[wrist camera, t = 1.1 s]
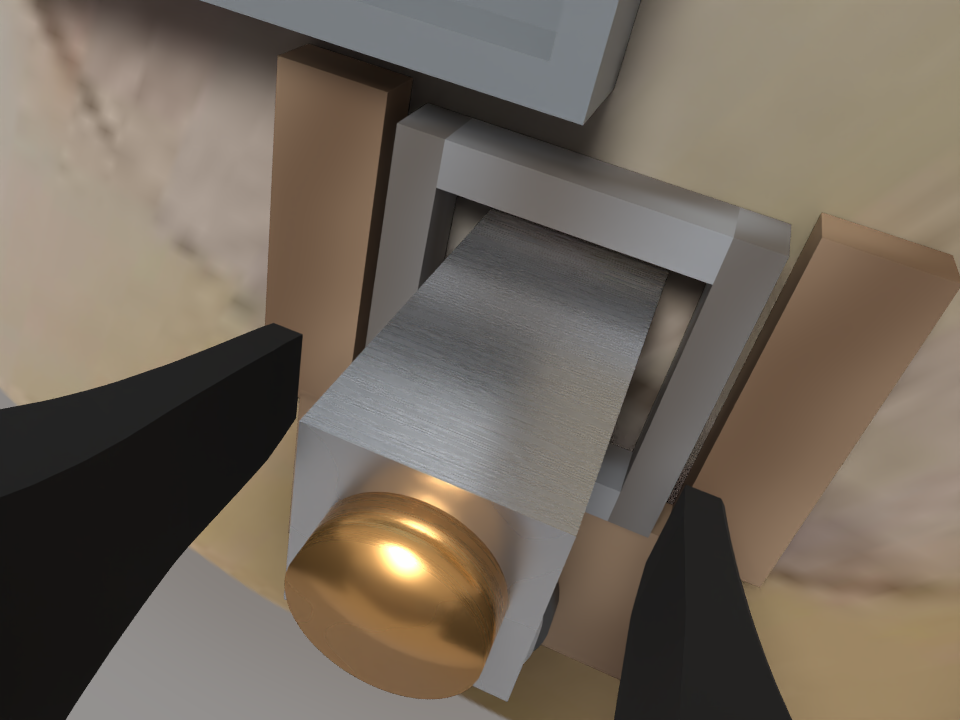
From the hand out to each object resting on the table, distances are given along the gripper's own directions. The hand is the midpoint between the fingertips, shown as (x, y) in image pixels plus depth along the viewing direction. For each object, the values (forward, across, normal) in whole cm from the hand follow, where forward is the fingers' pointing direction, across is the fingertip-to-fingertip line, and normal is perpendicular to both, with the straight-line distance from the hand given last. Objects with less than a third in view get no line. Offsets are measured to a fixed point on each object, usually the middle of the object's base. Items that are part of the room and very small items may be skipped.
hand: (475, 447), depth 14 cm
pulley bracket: (+5, 0, +2) cm, 6 cm away
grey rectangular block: (+5, 0, 0) cm, 5 cm away
